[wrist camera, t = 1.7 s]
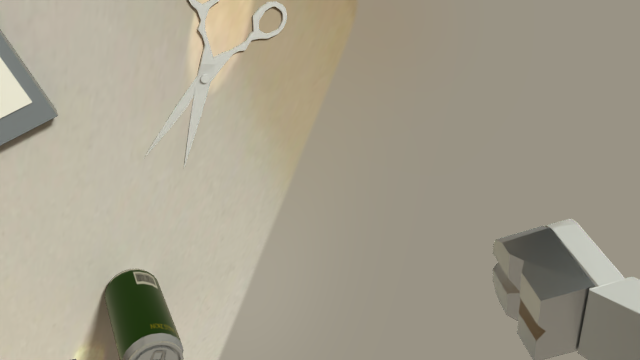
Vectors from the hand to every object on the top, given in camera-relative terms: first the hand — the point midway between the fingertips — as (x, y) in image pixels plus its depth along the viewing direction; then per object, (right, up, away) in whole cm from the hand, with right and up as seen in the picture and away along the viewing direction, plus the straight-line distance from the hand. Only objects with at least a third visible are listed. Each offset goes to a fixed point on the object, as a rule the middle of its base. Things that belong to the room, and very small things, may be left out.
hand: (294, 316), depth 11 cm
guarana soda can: (-19, -9, +49) cm, 54 cm away
